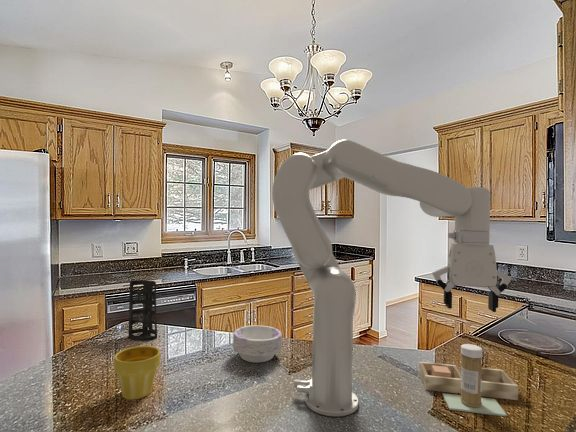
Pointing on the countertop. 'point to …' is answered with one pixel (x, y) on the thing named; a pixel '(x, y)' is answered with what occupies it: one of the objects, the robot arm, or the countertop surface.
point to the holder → (143, 310)
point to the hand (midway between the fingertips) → (470, 308)
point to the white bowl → (257, 342)
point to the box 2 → (498, 384)
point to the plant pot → (136, 370)
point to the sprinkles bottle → (471, 375)
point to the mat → (486, 408)
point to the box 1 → (440, 378)
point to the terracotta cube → (440, 371)
